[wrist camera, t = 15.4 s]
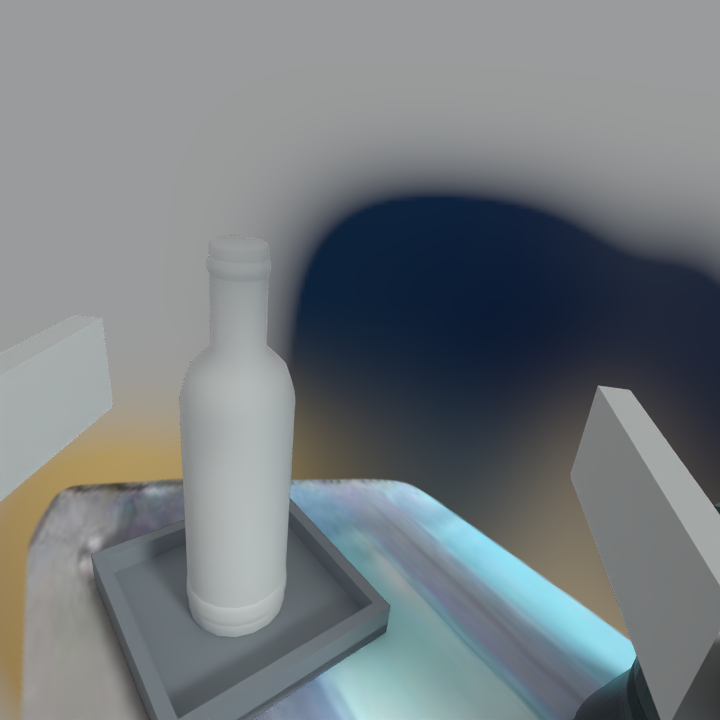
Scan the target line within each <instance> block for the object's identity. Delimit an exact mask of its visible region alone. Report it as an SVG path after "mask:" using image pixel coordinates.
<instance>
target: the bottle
mask: <svg viewBox="0 0 720 720" xmlns="http://www.w3.org/2000/svg"><path fill="white" fill-rule="evenodd" d="M207 269H208V272H209V276H210V277H209V279H210V331H211V332H210V333H211V345H209V346H208V347H207V348H206V349H205V350H204V351H202V353H200V354H199V355H198V356H197V357H195V358H194V359H193V360H192V361H191V362H190V365H189V367H188V370H187V373H186V375H185V378H184V382H183V385H182V389H181V393H180V396H179V405H180V425H181V444H182V445H181V447H182V467H183V490H184V511H185V532H186V553H187V595H188V598H189V608H190V611H191V614H192V617H193V619H194V620H195V621H196V623H197V624H198V625H199V626H200V627H201V628H202V629H203V630H205V631H208V632H210V633H213V634H215V635H217V636H226V637H239V636H243V635H247V634H251V633H254V632H256V631H258V630H259V629H261V628H263V627H264V626H266V625H268V624H269V623H270V622H271V621H272V620H273V619H274V617H275V616H276V615H277V614H278V613H279V611H280V608H281V606H282V603H283V600H284V590H285V588H286V554H287V536H288V518H289V500H290V482H291V464H292V446H293V427H294V410H295V409H294V408H295V393H294V387H293V384H292V380H291V377H290V374H289V371H288V368H287V365H286V363H285V362H284V361H283V360H282V359H281V358H280V357H279V356H278V355H277V354H276V353H275V352H274V351H273V350H272V349H271V348H269V347H268V346H267V345H266V341H267V306H268V276H269V274H270V272H271V262H270V259H269V245H268V244H267V243H266V242H265V241H263V240H261V239H259V238H255V237H249V236H238V235H237V236H236V235H228V236H219V237H216V238H214V239H212V240H211V242H210V243H209V257H208V259H207Z"/></svg>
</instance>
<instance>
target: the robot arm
mask: <svg viewBox="0 0 720 720" xmlns="http://www.w3.org/2000/svg"><path fill="white" fill-rule="evenodd" d="M111 407H113V401H112V393H111V385H110V377H109V369H108V361H107V353H106V346H105V338H104V330H103V322H102V318H99V317H91V316H84V315H77V314H76V315H74V316H72V317H70V318H68V319H66V320H64V321H62V322H60V323H58V324H56V325H54V326H52V327H50V328H48V329H46V330H44V331H42V332H40V333H38V334H36V335H34V336H32V337H30V338H28V339H26V340H24V341H22V342H21V343H19V344H17V345H15V346H13V347H11V348H9V349H7V350H5V351H3V352H1V353H0V502H1V501H2V500H3V499H4V498H5V497H6V496H8V495H9V494H10V493H11V492H12V491H14V490H15V489H16V488H17V487H18V486H19V485H21V484H22V483H23V482H24V481H25V480H26V479H28V478H29V477H30V476H31V475H32V474H34V473H35V472H36V471H37V470H38V469H39V468H41V467H42V466H43V465H44V464H45V463H46V462H48V461H49V460H50V459H51V458H52V457H53V456H55V455H56V454H57V453H58V452H60V451H61V450H62V449H63V448H64V447H65V446H67V445H68V444H69V443H70V442H71V441H72V440H74V439H75V438H76V437H77V436H78V435H80V434H81V433H82V432H83V431H84V430H85V429H87V428H88V427H89V426H90V425H91V424H93V423H94V422H95V421H96V420H97V419H98V418H100V417H101V416H102V415H103V414H104V413H105V412H107V411H108V410H109V409H110V408H111ZM570 477H571V479H572V482H573V485H574V487H575V490H576V493H577V495H578V498H579V501H580V504H581V507H582V509H583V512H584V514H585V517H586V520H587V523H588V525H589V528H590V531H591V533H592V536H593V539H594V542H595V544H596V547H597V549H598V552H599V555H600V558H601V560H602V563H603V566H604V569H605V571H606V574H607V577H608V579H609V582H610V585H611V587H612V590H613V593H614V596H615V598H616V601H617V603H618V606H619V609H620V612H621V614H622V617H623V619H624V622H625V625H626V628H627V631H628V633H629V636H630V639H631V641H632V644H633V647H634V649H635V652H636V655H637V656H636V659H635V661H634V663H633V665H632V667H631V668H630V669H629V670H627V671H626V672H624V673H623V674H621V675H620V676H618V677H617V678H615V679H614V680H612V681H611V682H609V683H608V684H606V685H605V686H604V687H602V688H601V689H599V690H598V691H596V692H595V693H593V694H592V695H591V696H590V697H589V698H588V699H587V700H586V701H585V702H584V703H583V704H582V706H581V707H580V708H579V710H578V711H577V713H576V715H575V717H574V719H573V720H720V503H719V504H717V505H716V506H713V505H712V503H711V502H710V500H709V499H708V498H707V496H706V495H705V494H704V492H703V491H702V490H701V488H700V487H699V485H698V484H697V483H696V481H695V480H694V478H693V477H692V476H691V474H690V473H689V471H688V470H687V469H686V467H685V466H684V464H683V463H682V462H681V461H680V459H679V457H678V456H677V455H676V453H675V452H674V451H673V449H672V448H671V446H670V445H669V444H668V442H667V441H666V439H665V438H664V437H663V435H662V434H661V433H660V431H659V430H658V428H657V427H656V426H655V424H654V423H653V421H652V420H651V419H650V417H649V416H648V414H647V413H646V412H645V410H644V409H643V407H641V405H640V403H639V402H638V401H637V399H636V398H635V396H634V395H633V394H632V392H631V391H630V390H625V389H618V388H610V387H603V386H598V388H597V391H596V394H595V397H594V401H593V404H592V407H591V410H590V414H589V417H588V420H587V423H586V427H585V430H584V433H583V436H582V439H581V443H580V446H579V449H578V452H577V455H576V459H575V462H574V465H573V468H572V472H571V475H570Z"/></svg>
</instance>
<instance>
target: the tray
mask: <svg viewBox="0 0 720 720" xmlns="http://www.w3.org/2000/svg"><path fill="white" fill-rule="evenodd" d="M91 557H92V564H93V571H94V578H95V582H96V585H97V587H98V590H99V592H100V595H101V597H102V600H103V603H104V605H105V608H106V610H107V613H108V615H109V618H110V620H111V623H112V625H113V628H114V631H115V633H116V636H117V638H118V641H119V643H120V646H121V648H122V651H123V653H124V656H125V659H126V661H127V664H128V666H129V669H130V671H131V674H132V676H133V679H134V681H135V684H136V687H137V689H138V692H139V694H140V697H141V699H142V702H143V704H144V707H145V709H146V712H147V715H148V717H149V720H251V719H253V718H254V717H256V716H257V715H259V714H260V713H262V712H264V711H265V710H267V709H268V708H270V707H271V706H273V705H274V704H276V703H277V702H279V701H280V700H282V699H283V698H285V697H287V696H288V695H290V694H291V693H293V692H294V691H296V690H297V689H299V688H300V687H302V686H303V685H305V684H307V683H308V682H310V681H311V680H313V679H314V678H316V677H317V676H319V675H320V674H322V673H323V672H325V671H326V670H328V669H330V668H331V667H333V666H334V665H336V664H337V663H339V662H340V661H342V660H343V659H345V658H346V657H348V656H350V655H351V654H353V653H354V652H356V651H357V650H359V649H360V648H362V647H363V646H365V645H366V644H368V643H369V642H371V641H373V640H374V639H376V638H377V637H379V636H380V635H382V634H383V633H385V632H386V628H387V623H388V617H389V611H390V605H389V604H388V603H387V602H386V601H385V600H384V599H383V598H382V596H381V595H380V594H379V593H378V592H377V591H376V590H375V589H374V588H373V587H372V586H371V585H370V584H369V583H368V581H367V580H366V579H365V578H364V577H363V576H362V575H361V574H360V573H359V572H358V571H357V570H356V569H355V567H354V566H353V565H352V564H351V563H350V562H349V561H348V560H347V559H346V558H345V557H344V556H343V555H342V554H341V552H340V551H339V550H338V549H337V548H336V547H335V546H334V545H333V544H332V543H331V542H330V541H329V540H328V538H327V537H326V536H325V535H324V534H323V533H322V532H321V531H320V530H319V529H318V528H317V527H316V526H315V525H314V523H313V522H312V521H311V520H310V519H309V518H308V517H307V516H306V515H305V514H304V513H303V512H302V511H301V509H300V508H299V507H298V506H297V505H296V504H295V503H294V502H293V501H292V500H291V499H290V500H289V518H288V536H287V554H286V588H285V590H284V600H283V603H282V606H281V608H280V611H279V613H278V614H277V615H276V616H275V617H274V619H273V620H272V621H271V622H270V623H269V624H268V625H266V626H264V627H263V628H261V629H259V630H258V631H256V632H254V633H251V634H247V635H243V636H239V637H226V636H217V635H215V634H213V633H210V632H208V631H205V630H203V629H202V628H201V627H200V626H199V625H198V624H197V623H196V621H195V620H194V619H193V617H192V614H191V611H190V608H189V598H188V595H187V553H186V532H185V520H183V521H180V522H177V523H175V524H172V525H169V526H167V527H164V528H161V529H158V530H156V531H153V532H150V533H148V534H145V535H142V536H139V537H137V538H134V539H131V540H129V541H126V542H123V543H120V544H118V545H115V546H112V547H110V548H107V549H104V550H102V551H99V552H96V553H93V554H91Z"/></svg>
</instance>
